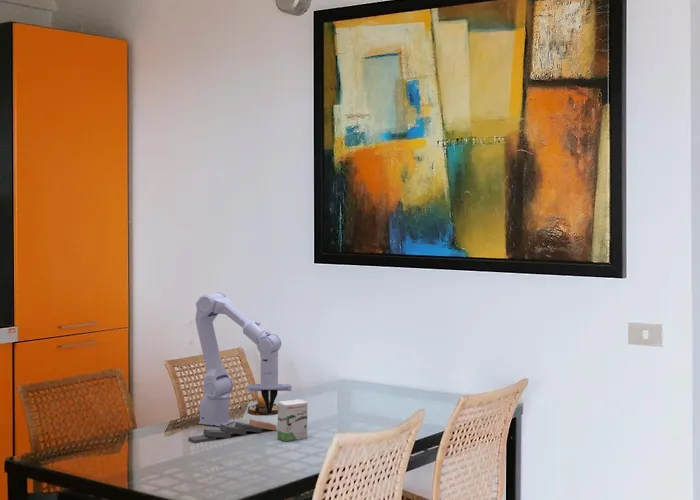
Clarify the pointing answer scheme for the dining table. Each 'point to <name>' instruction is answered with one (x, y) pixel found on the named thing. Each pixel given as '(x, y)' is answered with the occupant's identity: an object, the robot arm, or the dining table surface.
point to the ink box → (292, 420)
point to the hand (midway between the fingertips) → (269, 412)
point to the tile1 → (262, 424)
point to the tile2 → (248, 427)
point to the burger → (262, 408)
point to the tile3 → (232, 429)
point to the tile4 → (216, 433)
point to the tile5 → (201, 439)
